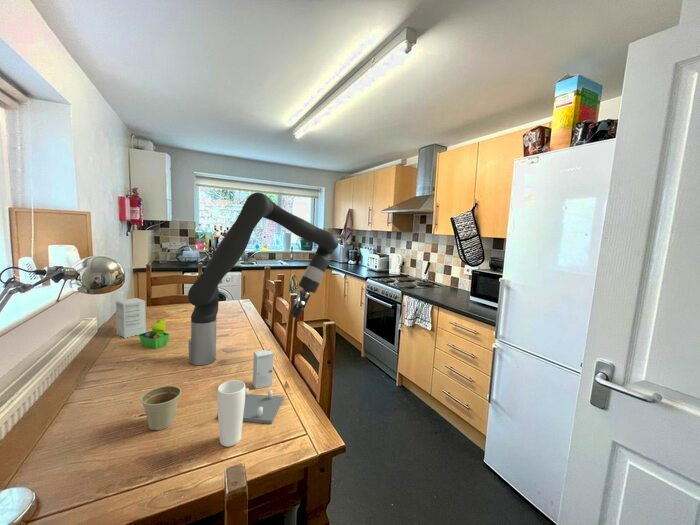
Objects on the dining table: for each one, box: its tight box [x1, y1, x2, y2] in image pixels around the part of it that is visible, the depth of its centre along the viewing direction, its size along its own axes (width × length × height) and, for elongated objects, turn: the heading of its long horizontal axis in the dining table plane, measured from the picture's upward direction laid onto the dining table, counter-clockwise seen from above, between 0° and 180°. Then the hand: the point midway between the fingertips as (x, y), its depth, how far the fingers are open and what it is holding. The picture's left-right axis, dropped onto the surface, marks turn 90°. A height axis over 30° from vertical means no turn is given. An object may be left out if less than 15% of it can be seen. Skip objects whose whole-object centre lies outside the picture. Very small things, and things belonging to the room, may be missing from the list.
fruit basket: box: [137, 318, 171, 350], centre depth 130 cm, size 11×9×11 cm
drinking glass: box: [216, 379, 246, 448], centre depth 74 cm, size 7×7×15 cm
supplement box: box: [115, 297, 147, 339], centre depth 140 cm, size 10×9×17 cm
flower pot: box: [140, 385, 182, 431], centre depth 79 cm, size 9×9×9 cm
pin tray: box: [243, 387, 284, 425], centre depth 89 cm, size 16×12×4 cm
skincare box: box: [252, 349, 274, 390], centre depth 102 cm, size 6×4×12 cm
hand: (293, 316), depth 112 cm, fingers open, 8 cm apart
